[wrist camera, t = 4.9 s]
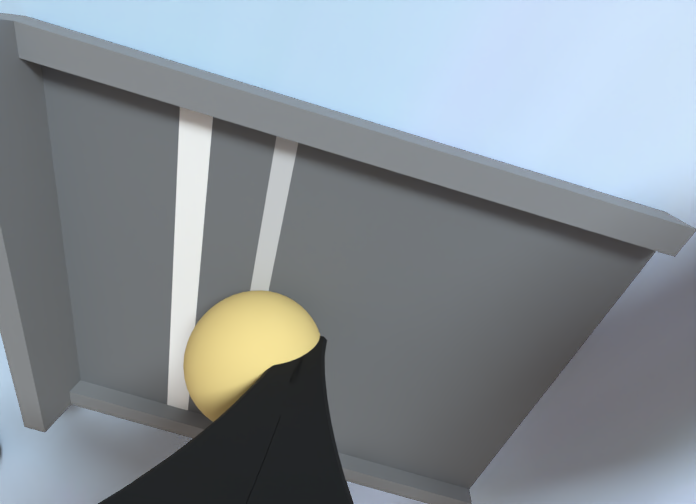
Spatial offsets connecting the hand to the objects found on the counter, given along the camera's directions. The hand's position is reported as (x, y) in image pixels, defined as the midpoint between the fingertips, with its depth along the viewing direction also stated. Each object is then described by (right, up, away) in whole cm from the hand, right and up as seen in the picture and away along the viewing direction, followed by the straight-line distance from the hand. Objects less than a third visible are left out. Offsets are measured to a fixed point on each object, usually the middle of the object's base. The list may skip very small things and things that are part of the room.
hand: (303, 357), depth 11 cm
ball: (+1, 0, -1) cm, 1 cm away
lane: (0, +1, +2) cm, 2 cm away
